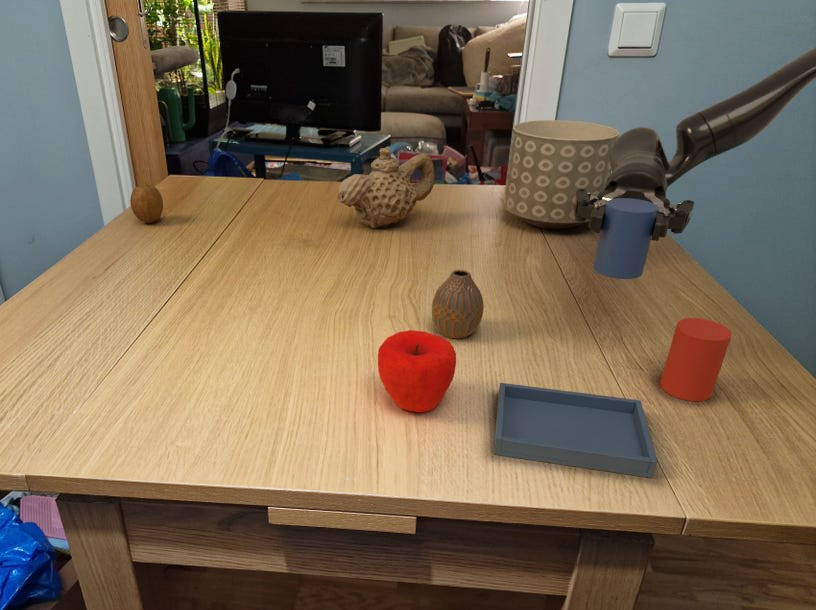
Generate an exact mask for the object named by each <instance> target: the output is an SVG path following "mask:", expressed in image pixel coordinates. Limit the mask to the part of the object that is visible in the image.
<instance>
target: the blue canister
mask: <svg viewBox="0 0 816 610" xmlns="http://www.w3.org/2000/svg"><path fill="white" fill-rule="evenodd" d="M658 209H659V207H658V206H657V205H655V204H653V203H651V202H648V201H644V200H639V199H631V198H616V199H611V200H608V201H607V202H606V207H605V212H604V217H603V222H602V227H601V230H600V233H599V237H598V240H597V246H596V251H595V255H594V260H593V266H592V269H593V270H594V272H596V273H597V274H599V275H602V276H605V277H607V278H611V279H617V280H633V279H638V278H640V277H642V275H643V273H644V269H645V265H646V261H647V258H648V253H649V248H650V244H651V241H652V240H651V239H652V233H653V229H654V225H655V221H656V217H657V213H658Z"/></svg>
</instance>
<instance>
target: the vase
mask: <svg viewBox="0 0 816 610" xmlns="http://www.w3.org/2000/svg"><path fill="white" fill-rule="evenodd" d="M484 306H485V305H484V299H483V294H482V292H481V290H480V288H479V287H478V286H477V284H476V283H475V281H474V279H473V277H472V275H471V272H470V271H468V270H465V269H454V270H452V271H451V273H450V275H449V277H448V278H447V279H446V280H444V282H443V283H442V284H441V285H440V286H439V287H438V288H437V290H436V292H435V294H434V296H433V299H432V302H431V318H432V322H433V324H434V327H435V328H436V329H437V331H438V332H439V333H441V334H442V335H443V336H445V337H446V338H450V339H465V338H467V337H468V336H470V335H472V334H473V333H475V331H477V329H478V327H479V326H480V324H481V322H482V318H483V315H484V308H485V307H484Z"/></svg>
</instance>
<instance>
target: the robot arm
mask: <svg viewBox="0 0 816 610" xmlns="http://www.w3.org/2000/svg"><path fill="white" fill-rule="evenodd" d="M815 80H816V46H814V47H813V48H811V49H810V50H808V51H806V52H805V53H802V54H801V55H800V56H798V57H796V58H794V59H793V60H791V61H790V62H788V63H787V64H785V65H784V66H782V67H780V68H779V69H777V70H775V71H774V72H772V73H771V74H769V75H767V76H766V77H764V78H763V79H761V80H760V81H758V82H756V83H754V84H752V85H751V86H749V87H747V88H745V89H743V90H742V91H740V92H738V93H736V94H733V95H732V96H730V97H728V98H726V99H724V100H721V101H718V102H717V103H715V104H713V105H711V106H708V107H706V108H704V109H702V110H700V111H698V112H696V113H694V114H691V115H689V116H686V117H685V118H683V119H682V120H680V121H679V122H678V123H677V124H676V127H675V141H676V148H675V149H676V151H675V153H674V155H673V156H672V158H671V159H670V160H668V158H667V155H666V152H665V148H664V146H663V143H662V141H661V138H660V135H659V133H658V132H657V131H656V130H655V129H654V128H651V127H647V126H640V127H635V128H631V129H629V130H626V131H625V132H623V133H622V134H620V135H619V137H618V138H617V139H616V140H615V141H614V143H613V144H612V146H611V148H610V152H609V158H610V164H611V168H612V171H611V175H610V176H609V177H608V179H607V181H606V186H605V189H604V191H603V192H600V193H599V194H598V196H591V193H590V192H587V190H585V189H582V188H581V189H577V192H576V197H575V203H574V214H575V219H576V220H577V221H579V222H582V221H586V219H589V220H590V221H588V228H589V229H593V230H592V231H593V234H600V231H601V227H602V222H603V217H604V212H605V207H606V202H607V201H608V200H611V199H616V198H631V199H639V200H644V201H648V202H651V203H653V204H655V205H657V206H658V207H659V209H658V213H657V217H656V221H655V225H654V229H653V233H652V237H651V241H656V242H659V239H660V238H663V239H664V238H666V237H667V233H668V230H670V232H671V233H673V234H677V235H678V234H682V233H683V232H684V231H685V229H686V228H687V226H688V224H689V223H690V221H691V217H692V214H693V209H694V207H695V201H693V200H691V199H685V200H683V201H682V202H681V201H678V202H677V204H672V203H671V201H670V200H669V199H668V198H667V192H668V188H669V187H670V186H671V185H673V184H674V183H676V181H678V180H679V179H680V178H682V177H683V176H684V175H685V174H687V173H688V172H690V171H691V170H693V169H694V168H696V167H698V166H699V165H701V164H703V163H705V162H706V161H708V160H710V159H713V158H715V157H717V156H720V155H721V154H725V153H727V152H728V151H731V150H734V149H735V148H738V147H740V146H742V145H744V144H746V143H747V142H749V141H751V140H753V139H754V138H755V137H756V136H758V135H759V134H760V133H762V132H763V131H764V130H765V129H766V128H767V127H768V126H770V124H771V123H772V122H773V121H774V120H775V119H776V118H777V117H778V116H779V115H780V113H781V112H782V111H783V110H784V109H785V108H786V107H787V106H788V105H789V103H790V102H791V101H792V100H793V99H794V98H795V97H796V96H797V95H798V94H799V93H800V92H801V91H803V90H804V89H805V88H806V87H807V86H808V85H809V84H810V83H812V82H814V81H815Z"/></svg>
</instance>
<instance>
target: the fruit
mask: <svg viewBox="0 0 816 610" xmlns="http://www.w3.org/2000/svg"><path fill="white" fill-rule="evenodd" d="M129 199H130V200H129V201H130V208H131V211H132V213H133V214H134V216H135V217H136V218H137V220H139V221H140V222H143V223H145V224H148V225H150V224H153V223H154V222H156V221H158V220H159V219H160V218H161V216H162V213H163V210H164V199H163V196H162V194H161V192H160V191H159V189H158V188H156V186H155V185H152V184H148V183H146V182H142V183H141V184H140V185H137V186H135V187H134V188H133V190H132V191H131V194H130V198H129Z"/></svg>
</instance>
